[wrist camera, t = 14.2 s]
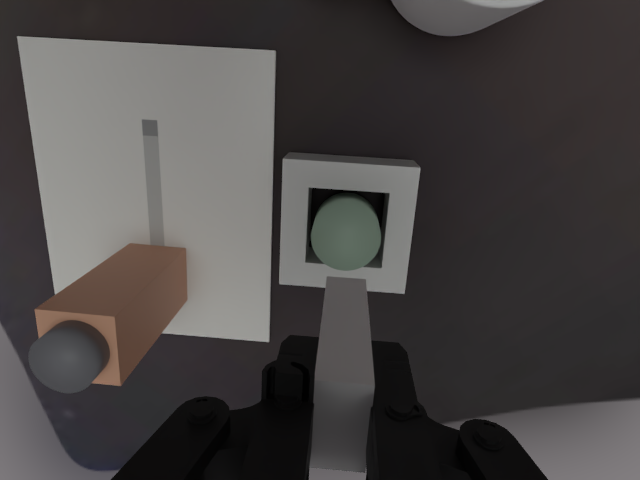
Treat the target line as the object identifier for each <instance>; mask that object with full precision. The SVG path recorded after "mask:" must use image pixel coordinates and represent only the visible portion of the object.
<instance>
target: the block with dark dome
mask: <svg viewBox="0 0 640 480" xmlns="http://www.w3.org/2000/svg"><path fill="white" fill-rule="evenodd" d="M186 301H187V265H186V248H179V247H168V246H156V245H145V244H133V243H129V244H128V245H127V246H125V247H124V248H122V249H121V250H119V251H118V252H116V253H115V254H114V255H112V256H111V257H109V258H108V259H106V260H105V261H103V262H102V263H101V264H99V265H98V266H96V267H95V268H93V269H92V270H90V271H89V272H88V273H86V274H85V275H83V276H82V277H80V278H79V279H77V280H76V281H75V282H73V283H72V284H70V285H69V286H67V287H66V288H64V289H63V290H62V291H60V292H59V293H57V294H56V295H54V296H53V297H51V298H50V299H49V300H47V301H46V302H44V303H43V304H41V305H40V306H38V307H37V308H36V309H35V315H36V322H37V328H38V335H39V339H38V340H37V341H35V342H34V343H33V345H32V346H31V348H30V350H29V357H28V358H29V365H30V367H31V370H32V372H33V373H34V375H35V376H36V377H37V379H38V380H39V381H40V382H41V383H43V384H44V385H45V386H47V387H49V388H51V389H53V390H55V391H58V392H62V393H76V392H80V391H82V390H84V389H86V388H87V387H88V386H89V385H90V384H91V383H96V384H106V385H116V386H121V385H122V384H123V382H124V381H125V380H126V378H127V377H128V376H129V375H130V373H131V372H132V371H133V369H134V368H135V367H136V366H137V364H138V363H139V362H140V360H141V359H142V358H143V357H144V355H145V354H146V353H147V351H148V350H149V349H150V347H151V346H152V345H153V344H154V342H155V341H156V340H157V338H158V337H159V336H160V335H161V333H162V332H163V331H164V329H165V328H166V327H167V326H168V324H169V323H170V322H171V320H172V319H173V318H174V317H175V315H176V314H177V313H178V311H179V310H180V309H181V308H182V306H183V305H184V304H185V302H186Z"/></svg>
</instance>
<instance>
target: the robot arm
mask: <svg viewBox="0 0 640 480" xmlns="http://www.w3.org/2000/svg"><path fill="white" fill-rule="evenodd" d="M309 467H311V468H322V469H333V470H342V471H353V472H364V473H365V468H366V469H367V475H366V480H548V479H547V478H546V476H545V475H544V474H543V473H542V472H541V470H540V469H539V468H538V466H537V465H536V464H535V463H534V461H533V460H532V459H531V457H530V456H529V455H528V454H527V452H526V451H525V450H524V449H523V447H522V446H521V445H520V444H519V443H518V441H517V440H516V438H515V437H514V436H513V435H512V434H511V433H510V432H509V431H508V430H507V429H505V428H503V427H502V426H500V425H498V424H496V423H493V422H490V421H487V420H481V419H473V420H469V421H466V422H465V423H463V424H462V425H461V427H460V430H456V429H453V428H450V427H447V426H444V425H442V424H439V423H437V422H435V421H434V420H432V419H430V418H429V417H428V416H427V413H426V411H425V409H424V407H423V406H422V405H421V404H420V403H419V402H418V401H417V396H416V392H415V387H414V383H413V378H412V373H411V369H410V364H409V360H408V355H407V352H406V351H405V350H404V348H403V347H402V346H401V345H400V344H399V343H394V342H382V341H371V333H370V322H369V310H368V298H367V287H366V279H358V278H345V277H331V276H327V279H326V287H325V295H324V303H323V311H322V319H321V327H320V335H319V337H308V336H296V335H290V336H289V337H287V338H286V339H285V340H284V341H283V342H282V343H281V347H280V350H279V354H278V358H277V360H276V361H273V362H271V363H269V364H268V365H266V366H265V368H264V369H263V371H262V399H261V401H260V402H259V403H257V404H255V405H253V406H251V407H247V408H243V409H237V410H230V411H229V406H228V405H227V404H226V403H225V402H224V401H222V400H220V399H218V398H216V397H207V396H205V397H198V398H194V399H191V400H189V401H186V402H185V403H183V404H182V405H181V406H180V407H178V408H177V409H176V410H175V411H174V413H173V414H172V415H171V416H170V417H169V418H168V419H167V420H166V421H165V422H164V423H163V424H162V425H161V426H160V428H159V429H158V430H157V431H156V432H155V433H154V434H153V435H152V436H151V437H150V438H149V439H148V440H147V442H146V443H145V444H144V445H143V446H142V447H141V448H140V449H139V450H138V451H137V452H136V453H135V454H134V455H133V457H132V458H131V459H130V460H129V461H128V462H127V463H126V464H125V465H124V466H123V467H122V468H121V469H120V470H119V472H118V473H117V474H116V475H115V476H114V477H113V478H112V479H111V480H309Z"/></svg>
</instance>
